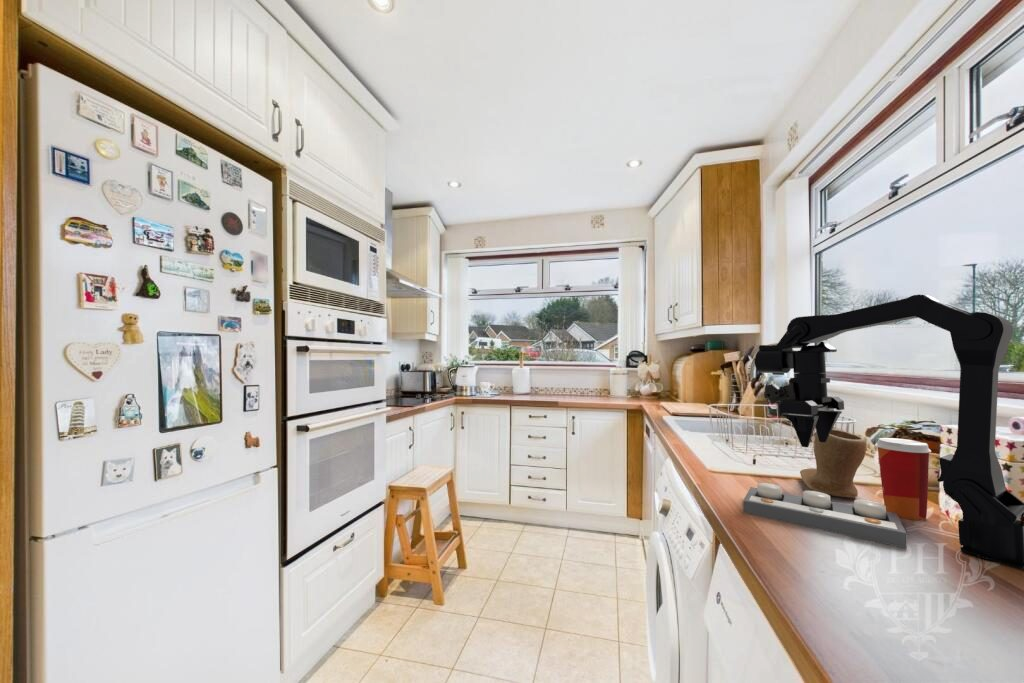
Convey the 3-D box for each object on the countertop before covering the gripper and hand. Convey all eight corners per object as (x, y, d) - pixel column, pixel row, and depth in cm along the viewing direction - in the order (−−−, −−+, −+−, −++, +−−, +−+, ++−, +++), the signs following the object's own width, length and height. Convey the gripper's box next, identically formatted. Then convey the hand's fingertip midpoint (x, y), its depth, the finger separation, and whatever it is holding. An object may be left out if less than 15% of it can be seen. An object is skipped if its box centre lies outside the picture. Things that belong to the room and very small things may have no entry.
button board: (897, 526, 74) (896, 510, 74) (907, 548, 65) (906, 530, 65) (750, 498, 89) (750, 485, 89) (743, 512, 80) (743, 498, 80)
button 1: (782, 495, 84) (782, 485, 84) (781, 500, 80) (780, 491, 80) (758, 490, 86) (758, 481, 87) (756, 496, 83) (756, 486, 83)
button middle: (830, 503, 79) (830, 493, 79) (830, 510, 75) (830, 499, 75) (803, 498, 81) (803, 489, 82) (802, 505, 78) (802, 494, 78)
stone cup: (874, 506, 84) (872, 436, 85) (806, 496, 90) (804, 431, 91) (858, 486, 97) (855, 426, 98) (799, 479, 103) (797, 422, 104)
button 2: (884, 513, 74) (884, 503, 74) (887, 521, 70) (887, 510, 70) (854, 508, 76) (853, 497, 77) (855, 515, 73) (855, 504, 73)
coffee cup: (908, 507, 83) (905, 437, 84) (947, 523, 75) (943, 446, 76) (866, 506, 84) (863, 436, 85) (900, 522, 76) (897, 445, 77)
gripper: (787, 372, 98) (790, 434, 97) (750, 373, 88) (753, 443, 87) (842, 372, 88) (847, 441, 87) (808, 374, 78) (812, 452, 77)
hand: (813, 444), depth 85 cm, fingers open, 9 cm apart
